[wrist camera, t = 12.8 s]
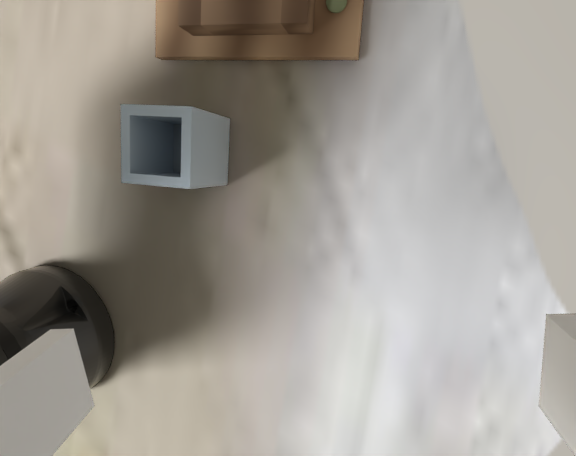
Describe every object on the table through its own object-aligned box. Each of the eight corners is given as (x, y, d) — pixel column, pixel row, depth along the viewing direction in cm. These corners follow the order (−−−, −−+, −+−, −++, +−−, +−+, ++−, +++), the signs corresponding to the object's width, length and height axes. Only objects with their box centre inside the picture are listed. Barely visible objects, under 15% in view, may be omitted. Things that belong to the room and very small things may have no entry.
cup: (170, 180, 37) (121, 182, 30) (170, 116, 36) (120, 103, 29) (227, 185, 35) (190, 188, 28) (230, 118, 34) (191, 106, 27)
